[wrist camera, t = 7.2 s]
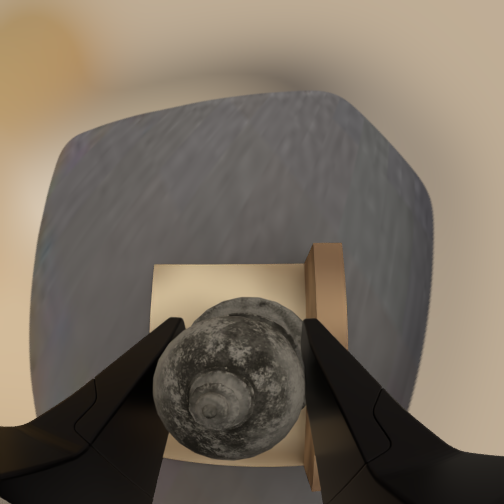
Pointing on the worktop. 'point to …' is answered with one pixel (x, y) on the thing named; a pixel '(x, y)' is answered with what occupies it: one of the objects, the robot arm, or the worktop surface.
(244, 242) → the worktop surface
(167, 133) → the worktop surface
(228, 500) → the worktop surface
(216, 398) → the grey tall rounded piece
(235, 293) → the board
